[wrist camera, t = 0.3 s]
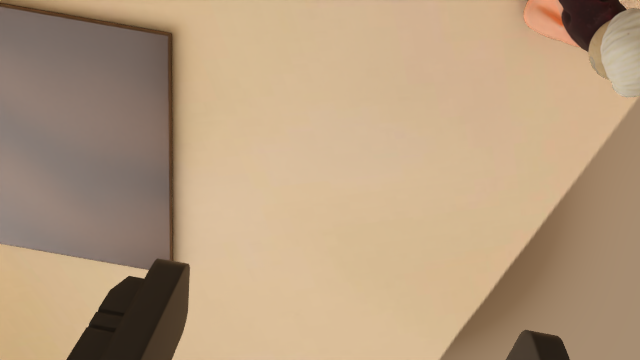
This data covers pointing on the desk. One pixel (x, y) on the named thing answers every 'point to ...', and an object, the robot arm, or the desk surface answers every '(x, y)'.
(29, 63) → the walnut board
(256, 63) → the desk surface
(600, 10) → the grandmother figurine
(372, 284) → the desk surface
